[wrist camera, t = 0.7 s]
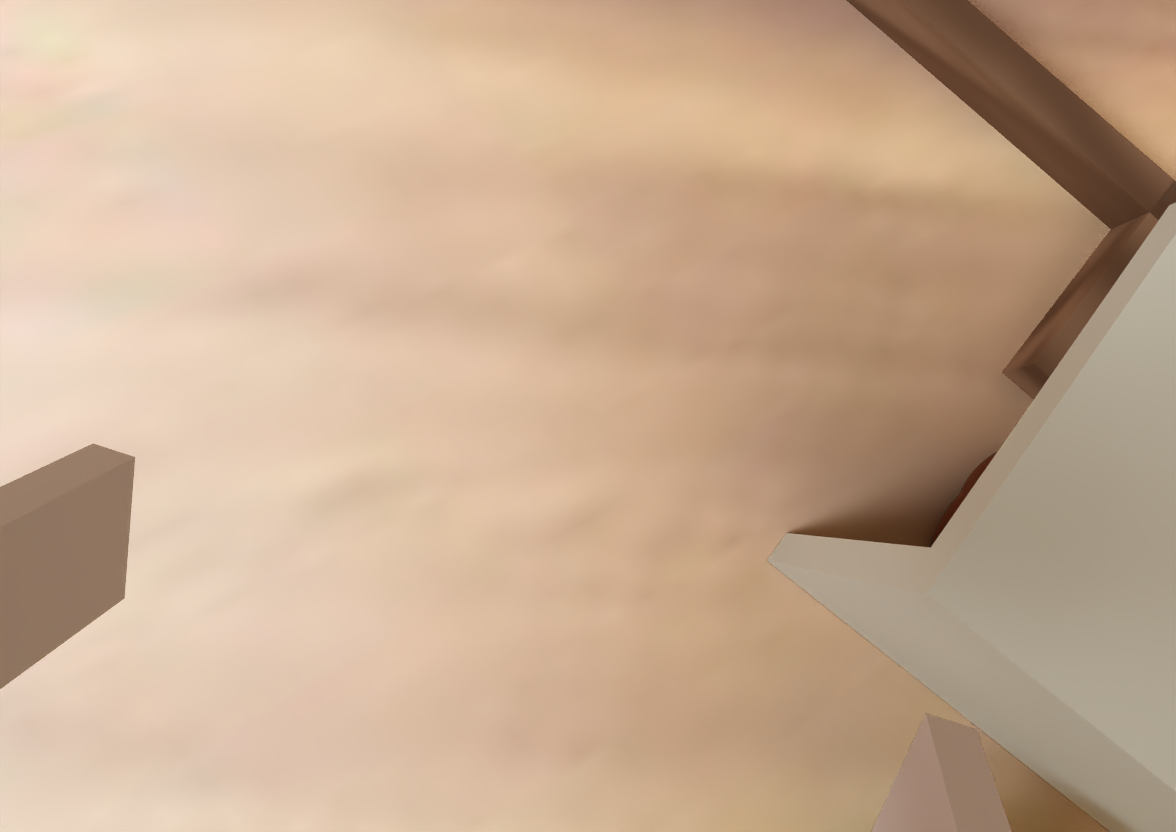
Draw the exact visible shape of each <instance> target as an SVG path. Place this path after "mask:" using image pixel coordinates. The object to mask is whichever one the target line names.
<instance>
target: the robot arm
mask: <svg viewBox="0 0 1176 832" xmlns="http://www.w3.org/2000/svg"><path fill="white" fill-rule="evenodd" d="M134 463H135V457H133V456H130V455H127V454H124V453H120V452H117V451H114V450H111V449H108V448H105V447H102V446H99V445H96V444H91V445H89V446H87V447H85V448H83V449H81V450H79V451H76V452H74V453H72V454H70V455H68V456H66V457H64V458H61V459H59V460H57V461H55V462H53V463H51V464H49V465H47V466H44V467H42V468H40V469H38V470H36V471H34V472H32V473H29V474H27V475H25V476H23V477H21V478H19V479H17V480H15V481H12V482H10V483H8V484H6V485H4V486H2V487H0V689H1V688H2V687H4V686H5V685H6V684H8V683H9V682H10V681H12V680H13V679H15V678H16V677H17V676H19V675H20V674H21V673H23V672H24V671H25V670H27V669H28V668H30V667H31V666H32V665H34V664H35V663H36V662H38V661H39V660H41V659H42V658H43V657H45V656H46V655H47V654H49V653H50V652H51V651H53V650H54V649H56V648H57V647H58V646H60V645H61V644H62V643H64V642H65V641H67V640H68V639H69V638H71V637H72V636H73V635H75V634H76V633H77V632H79V631H80V630H82V629H83V628H84V627H86V626H87V625H88V624H90V623H91V622H92V621H94V620H95V619H97V618H98V617H99V616H101V615H102V614H103V613H105V612H106V611H108V610H109V609H110V608H112V607H113V606H114V605H116V604H117V603H118V602H120V601H121V600H123V599H124V596H125V583H126V570H127V556H128V543H129V530H130V517H131V503H132V490H133V477H134ZM871 832H1012V831H1011V828H1010V825H1009V822H1008V819H1007V816H1006V813H1005V810H1004V807H1003V805H1002V802H1001V799H1000V796H999V793H998V790H997V787H996V784H995V781H994V778H993V776H992V773H991V770H990V767H989V764H988V761H987V758H986V755H985V752H984V749H983V747H982V744H981V741H980V738H979V735H978V732H977V730H976V729H973V728H970V727H967V726H964V725H961V724H958V723H955V722H952V721H948V720H945V719H942V718H939V717H936V716H933V715H930V714H927V713H926V714H925V716H924V718H923V720H922V722H921V725H920V727H919V729H918V731H917V733H916V735H915V738H914V740H913V742H912V744H911V746H910V748H909V751H908V753H907V755H906V757H905V759H904V762H903V764H902V766H901V768H900V770H899V772H898V775H897V777H896V779H895V781H894V783H893V785H892V788H891V790H890V792H889V794H888V796H887V798H886V801H885V803H884V805H883V807H882V809H881V811H880V814H879V816H878V818H877V820H876V822H875V824H874V827H873V829H872V831H871Z"/></svg>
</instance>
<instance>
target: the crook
mask: <svg viewBox="0 0 1176 832" xmlns="http://www.w3.org/2000/svg"><path fill="white" fill-rule="evenodd" d="M847 1H848V2H849V3H850V4H852V5H853V6H854V7H855V8H856V9H857V10H858V11H860V12H861V13H862V14H863V15H864V16H865V17H867V18H868V19H869V20H870V21H871V22H872V23H874V24H875V25H876V26H877V27H878V28H879V29H880V30H882V31H883V32H884V33H885V34H886V35H887V36H889V37H890V38H891V39H892V40H893V41H894V42H895V43H897V44H898V45H899V46H900V47H901V48H902V49H904V50H905V51H906V52H907V53H908V54H909V55H910V56H912V57H913V58H914V59H915V60H916V61H917V62H919V63H920V64H921V65H922V66H923V67H924V68H925V69H927V70H928V71H929V72H930V73H931V74H932V75H934V76H935V77H936V78H937V79H938V80H939V81H941V82H942V83H943V84H944V85H945V86H946V87H947V88H949V89H950V90H951V91H952V92H953V93H954V94H956V95H957V96H958V97H959V98H960V99H961V100H962V101H964V102H965V103H966V104H967V105H968V106H969V107H971V108H972V109H973V110H974V111H975V112H976V113H977V114H979V115H980V116H981V117H982V118H983V119H984V120H986V121H987V122H988V123H989V124H990V125H991V126H993V127H994V128H995V129H996V130H997V131H998V132H999V133H1001V134H1002V135H1003V136H1004V137H1005V138H1006V139H1008V140H1009V141H1010V142H1011V143H1012V144H1013V145H1014V146H1016V147H1017V148H1018V149H1019V150H1020V151H1021V152H1023V153H1024V154H1025V155H1026V156H1027V157H1028V158H1029V159H1031V160H1032V161H1033V162H1034V163H1035V164H1036V165H1038V166H1039V167H1040V168H1041V169H1042V170H1043V171H1044V172H1046V173H1047V174H1048V175H1049V176H1050V177H1051V178H1053V179H1054V180H1055V181H1056V182H1057V183H1058V184H1060V185H1061V186H1062V187H1063V188H1064V189H1065V190H1066V191H1068V192H1069V193H1070V194H1071V195H1072V196H1073V197H1075V198H1076V199H1077V200H1078V201H1079V202H1080V203H1081V204H1083V205H1084V206H1085V207H1086V208H1087V209H1088V210H1090V211H1091V212H1092V213H1093V214H1094V215H1095V216H1096V217H1098V218H1099V219H1100V220H1101V221H1102V222H1103V223H1105V224H1106V225H1107V226H1108V227H1109V228H1110V229H1111V230H1110V231H1109V233H1108V234H1107V235H1106V237H1105V238H1104V239H1103V241H1102V242H1101V243H1100V245H1099V246H1098V247H1097V248H1096V250H1095V251H1094V252H1093V254H1092V255H1091V256H1090V258H1089V259H1088V260H1087V262H1086V263H1085V264H1084V266H1083V267H1082V268H1081V269H1080V271H1079V272H1078V273H1077V275H1076V276H1075V277H1074V279H1073V280H1072V281H1071V283H1070V284H1069V285H1068V286H1067V288H1066V289H1065V290H1064V292H1063V293H1062V294H1061V296H1060V297H1059V298H1058V300H1057V301H1056V302H1055V304H1054V305H1053V306H1052V307H1051V309H1050V310H1049V311H1048V313H1047V314H1046V315H1045V317H1044V318H1043V319H1042V321H1041V322H1040V323H1039V325H1038V326H1037V327H1036V328H1035V330H1034V331H1033V332H1032V334H1031V335H1030V336H1029V338H1028V339H1027V340H1026V342H1025V343H1024V344H1023V346H1022V347H1021V348H1020V349H1019V351H1018V352H1017V353H1016V355H1015V356H1014V357H1013V359H1012V360H1011V361H1010V363H1009V364H1008V365H1007V367H1006V368H1005V369H1004V370H1003V372H1002V373H1004V374H1005V375H1006V376H1007V377H1008V378H1009V379H1011V380H1012V381H1013V382H1014V383H1015V384H1016V385H1018V386H1019V387H1020V388H1021V389H1022V390H1023V391H1025V392H1026V393H1027V394H1028V395H1029V396H1030V397H1032V398H1033V399H1035V397H1036V396H1037V394H1038V393H1039V392H1040V390H1041V389H1042V387H1043V386H1044V384H1045V383H1046V381H1047V380H1048V379H1049V377H1050V376H1051V374H1052V373H1053V371H1054V370H1055V369H1056V367H1057V366H1058V364H1059V363H1060V361H1061V360H1062V359H1063V357H1064V356H1065V354H1066V353H1067V351H1068V350H1069V348H1070V347H1071V346H1072V344H1073V343H1074V341H1075V340H1076V338H1077V337H1078V336H1079V334H1080V333H1081V331H1082V330H1083V328H1084V327H1085V326H1086V324H1087V323H1088V321H1089V320H1090V318H1091V317H1092V315H1093V314H1094V313H1095V311H1096V310H1097V308H1098V307H1099V305H1100V304H1101V303H1102V301H1103V300H1104V298H1105V297H1106V295H1107V294H1108V293H1109V291H1110V290H1111V288H1112V287H1113V285H1114V284H1115V282H1116V281H1117V280H1118V278H1119V277H1120V275H1121V274H1122V272H1123V271H1124V270H1125V268H1126V267H1127V265H1128V264H1129V262H1130V261H1131V260H1132V258H1133V257H1134V255H1135V254H1136V252H1137V251H1138V249H1139V248H1140V247H1141V245H1142V244H1143V242H1144V241H1145V239H1146V238H1147V237H1148V235H1149V234H1150V232H1151V231H1152V229H1153V228H1154V227H1155V225H1156V224H1157V222H1158V221H1159V219H1160V218H1161V216H1162V215H1163V214H1164V212H1165V211H1166V209H1167V208H1168V206H1169V205H1171V204H1173V203H1176V181H1175V180H1173V179H1172V178H1171V177H1170V176H1169V175H1168V174H1166V173H1165V172H1164V171H1163V170H1162V169H1161V168H1160V167H1158V166H1157V165H1156V164H1155V163H1154V162H1153V161H1151V160H1150V159H1149V158H1148V157H1147V156H1146V155H1145V154H1143V153H1142V152H1141V151H1140V150H1139V149H1138V148H1137V147H1135V146H1134V145H1133V144H1132V143H1131V142H1130V141H1128V140H1127V139H1126V138H1125V137H1124V136H1123V135H1122V134H1120V133H1119V132H1118V131H1117V130H1116V129H1115V128H1113V127H1112V126H1111V125H1110V124H1109V123H1108V122H1107V121H1105V120H1104V119H1103V118H1102V117H1101V116H1100V115H1098V114H1097V113H1096V112H1095V111H1094V110H1093V109H1092V108H1090V107H1089V106H1088V105H1087V104H1086V103H1085V102H1084V101H1082V100H1081V99H1080V98H1079V97H1078V96H1077V95H1075V94H1074V93H1073V92H1072V91H1071V90H1070V89H1069V88H1067V87H1066V86H1065V85H1064V84H1063V83H1062V82H1060V81H1059V80H1058V79H1057V78H1056V77H1055V76H1054V75H1052V74H1051V73H1050V72H1049V71H1048V70H1047V69H1046V68H1044V67H1043V66H1042V65H1041V64H1040V63H1039V62H1037V61H1036V60H1035V59H1034V58H1033V57H1032V56H1031V55H1029V54H1028V53H1027V52H1026V51H1025V50H1024V49H1022V48H1021V47H1020V46H1019V45H1018V44H1017V43H1016V42H1014V41H1013V40H1012V39H1011V38H1010V37H1009V36H1007V35H1006V34H1005V33H1004V32H1003V31H1002V30H1001V29H999V28H998V27H997V26H996V25H995V24H994V23H993V22H991V21H990V20H989V19H988V18H987V17H986V16H984V15H983V14H982V13H981V12H980V11H979V10H978V9H976V8H975V7H974V6H973V5H972V4H971V3H969V2H968V1H967V0H847Z"/></svg>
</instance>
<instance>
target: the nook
mask: <svg viewBox="0 0 1176 832" xmlns="http://www.w3.org/2000/svg"><path fill="white" fill-rule="evenodd" d="M767 561H768V562H769V563H770V564H772V565H773V566H774V567H775V568H777V569H778V570H779V571H781V572H782V573H783V574H784V575H786V576H787V577H788V578H789V579H791V580H792V581H793V582H794V583H796V584H797V585H798V586H800V587H801V588H802V589H803V590H805V591H806V592H807V593H808V594H810V595H811V596H812V597H813V598H815V599H816V600H817V601H818V602H820V603H821V604H822V605H824V606H825V607H826V608H827V609H829V610H830V611H831V612H832V613H834V614H835V615H836V616H837V617H839V618H840V619H841V620H843V621H844V622H845V623H846V624H848V625H849V626H850V627H851V628H853V629H854V630H855V631H856V632H858V633H859V634H860V635H862V636H863V637H864V638H865V639H867V640H868V641H869V642H870V643H872V644H873V645H874V646H875V647H877V648H878V649H879V650H880V651H882V652H883V653H884V654H886V655H887V656H888V657H889V658H891V659H892V660H893V661H894V662H896V663H897V664H898V665H899V666H901V667H902V668H903V669H905V670H906V671H907V672H908V673H910V674H911V675H912V676H913V677H915V678H916V679H917V680H918V681H920V682H921V683H922V684H923V685H925V686H926V687H927V688H929V689H930V690H931V691H932V692H934V693H935V694H936V695H937V696H939V697H940V698H941V699H942V700H944V701H945V702H946V703H948V704H949V705H950V706H951V707H953V708H954V709H955V710H956V711H958V712H959V713H960V714H961V715H963V716H964V717H965V718H967V719H968V720H969V721H970V722H972V723H973V724H974V725H975V726H977V727H978V728H979V729H980V730H982V731H983V732H984V733H985V734H987V735H988V736H989V737H991V738H992V739H993V740H994V741H996V742H997V743H998V744H999V745H1001V746H1002V747H1003V748H1004V749H1006V750H1007V751H1008V752H1010V753H1011V754H1012V755H1013V756H1015V757H1016V758H1017V759H1018V760H1020V761H1021V762H1022V763H1023V764H1025V765H1026V766H1027V767H1028V768H1030V769H1031V770H1032V771H1034V772H1035V773H1036V774H1037V775H1039V776H1040V777H1041V778H1042V779H1044V780H1045V781H1046V782H1047V783H1049V784H1050V785H1051V786H1053V787H1054V788H1055V789H1056V790H1058V791H1059V792H1060V793H1061V794H1063V795H1064V796H1065V797H1066V798H1068V799H1069V800H1070V801H1072V802H1073V803H1074V804H1075V805H1077V806H1078V807H1079V808H1080V809H1082V810H1083V811H1084V812H1085V813H1087V814H1088V815H1089V816H1090V817H1092V818H1093V819H1094V820H1096V821H1097V822H1098V823H1099V824H1101V825H1102V826H1103V827H1104V828H1106V829H1107V830H1108V831H1109V832H1176V203H1173V204H1171V205H1169V206H1168V208H1167V209H1166V211H1165V212H1164V214H1163V215H1162V216H1161V218H1160V219H1159V221H1158V222H1157V224H1156V225H1155V227H1154V228H1153V229H1152V231H1151V232H1150V234H1149V235H1148V237H1147V238H1146V239H1145V241H1144V242H1143V244H1142V245H1141V247H1140V248H1139V249H1138V251H1137V252H1136V254H1135V255H1134V257H1133V258H1132V260H1131V261H1130V262H1129V264H1128V265H1127V267H1126V268H1125V270H1124V271H1123V272H1122V274H1121V275H1120V277H1119V278H1118V280H1117V281H1116V282H1115V284H1114V285H1113V287H1112V288H1111V290H1110V291H1109V293H1108V294H1107V295H1106V297H1105V298H1104V300H1103V301H1102V303H1101V304H1100V305H1099V307H1098V308H1097V310H1096V311H1095V313H1094V314H1093V315H1092V317H1091V318H1090V320H1089V321H1088V323H1087V324H1086V326H1085V327H1084V328H1083V330H1082V331H1081V333H1080V334H1079V336H1078V337H1077V338H1076V340H1075V341H1074V343H1073V344H1072V346H1071V347H1070V348H1069V350H1068V351H1067V353H1066V354H1065V356H1064V357H1063V359H1062V360H1061V361H1060V363H1059V364H1058V366H1057V367H1056V369H1055V370H1054V371H1053V373H1052V374H1051V376H1050V377H1049V379H1048V380H1047V381H1046V383H1045V384H1044V386H1043V387H1042V389H1041V390H1040V392H1039V393H1038V394H1037V396H1036V397H1035V399H1034V400H1033V402H1032V403H1031V404H1030V406H1029V407H1028V409H1027V410H1026V412H1025V413H1024V414H1023V416H1022V417H1021V419H1020V420H1019V422H1018V423H1017V425H1016V426H1015V427H1014V429H1013V430H1012V432H1011V433H1010V435H1009V436H1008V437H1007V439H1006V440H1005V442H1004V443H1003V445H1002V446H1001V447H1000V449H999V450H998V452H997V453H996V455H995V456H994V458H993V459H992V460H991V462H990V463H989V465H988V466H987V468H986V469H985V470H984V472H983V473H982V475H981V476H980V478H979V479H978V480H977V482H976V483H975V485H974V486H973V488H972V489H971V491H970V492H969V493H968V495H967V496H966V498H965V499H964V501H963V502H962V503H961V505H960V506H959V508H958V509H957V511H956V512H955V513H954V515H953V516H952V518H951V519H950V521H949V522H948V524H947V525H946V526H945V528H944V529H943V531H942V532H941V534H940V535H939V536H938V538H937V539H936V541H935V542H934V544H933V545H932V546H931V548H930V547H920V546H910V545H900V544H890V543H880V542H871V541H861V540H851V539H841V538H831V537H821V536H811V535H801V534H791V533H786V535H785V536H784V537H783V539H782V540H781V541H780V543H779V544H778V546H777V547H776V548H775V550H774V551H773V552H772V554H771V555H770V557H769V558H768V559H767Z"/></svg>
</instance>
